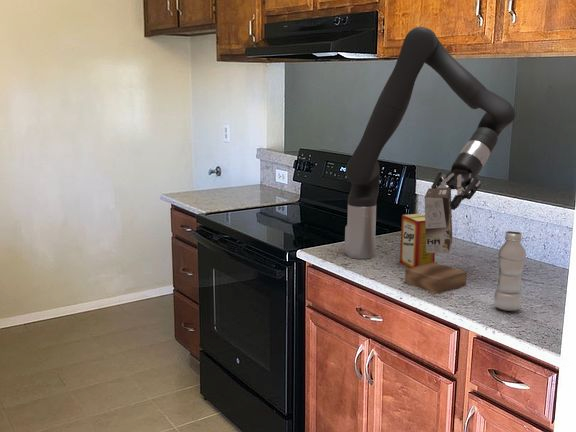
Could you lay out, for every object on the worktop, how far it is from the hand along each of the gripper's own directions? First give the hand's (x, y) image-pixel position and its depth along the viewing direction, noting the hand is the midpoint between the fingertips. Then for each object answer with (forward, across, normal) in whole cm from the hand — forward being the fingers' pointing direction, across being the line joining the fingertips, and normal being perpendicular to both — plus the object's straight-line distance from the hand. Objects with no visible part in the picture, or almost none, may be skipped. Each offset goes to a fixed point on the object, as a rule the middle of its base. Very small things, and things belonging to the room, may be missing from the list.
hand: (441, 205), depth 172 cm
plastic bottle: (+18, +24, +15) cm, 33 cm away
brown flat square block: (+17, 0, +15) cm, 23 cm away
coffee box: (+9, +1, +8) cm, 12 cm away
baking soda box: (+11, -15, +22) cm, 28 cm away
